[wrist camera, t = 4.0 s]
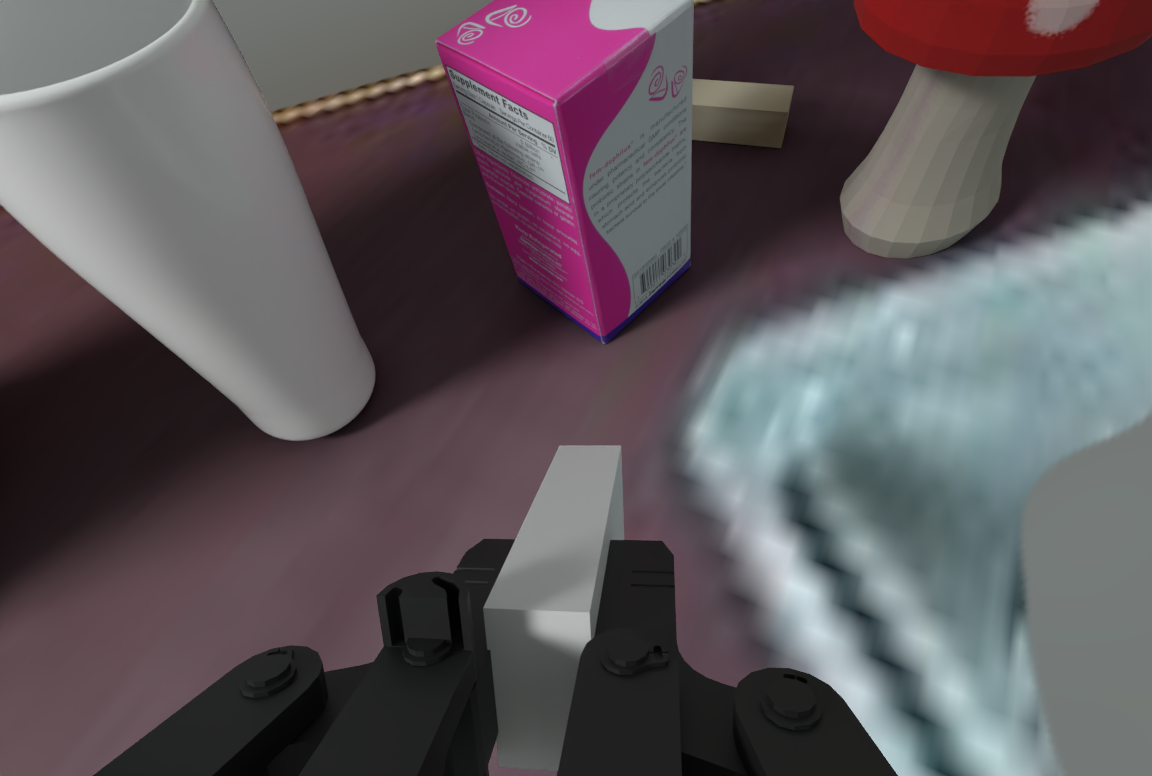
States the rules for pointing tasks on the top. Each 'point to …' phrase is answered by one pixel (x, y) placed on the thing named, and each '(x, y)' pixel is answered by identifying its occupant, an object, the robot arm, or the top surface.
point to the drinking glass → (178, 200)
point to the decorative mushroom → (965, 106)
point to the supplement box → (583, 145)
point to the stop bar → (740, 112)
